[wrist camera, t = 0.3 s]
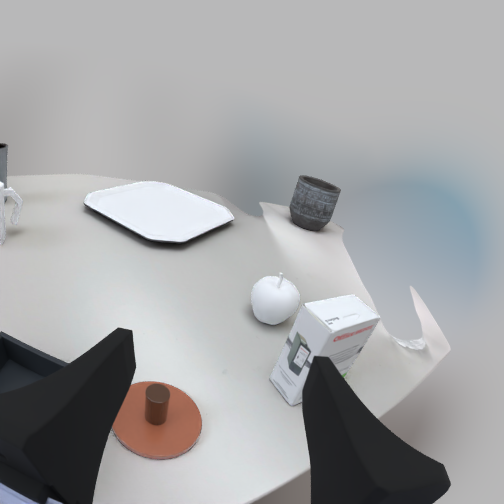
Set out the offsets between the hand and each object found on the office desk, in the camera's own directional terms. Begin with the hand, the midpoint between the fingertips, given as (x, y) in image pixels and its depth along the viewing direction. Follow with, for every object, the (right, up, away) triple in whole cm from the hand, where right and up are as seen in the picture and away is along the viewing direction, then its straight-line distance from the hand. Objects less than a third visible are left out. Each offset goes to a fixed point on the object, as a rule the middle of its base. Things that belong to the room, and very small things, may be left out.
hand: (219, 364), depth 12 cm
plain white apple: (+4, -6, +36) cm, 36 cm away
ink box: (+8, -12, +25) cm, 29 cm away
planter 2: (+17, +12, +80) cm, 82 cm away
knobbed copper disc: (-8, -12, +15) cm, 21 cm away
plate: (-20, +13, +59) cm, 64 cm away
